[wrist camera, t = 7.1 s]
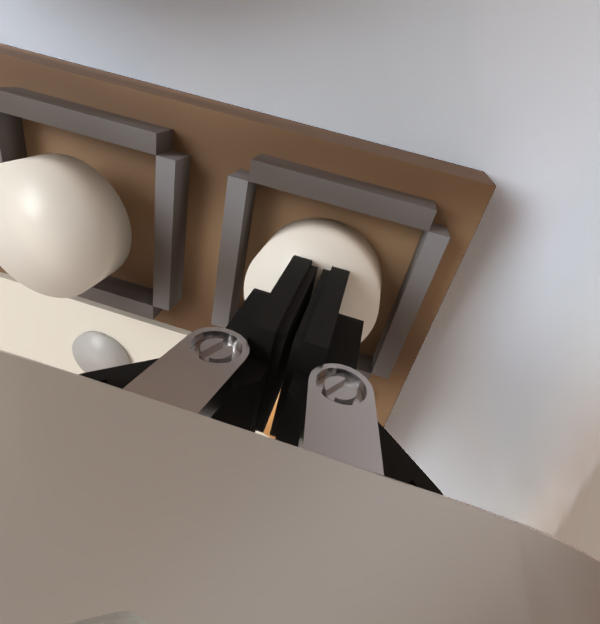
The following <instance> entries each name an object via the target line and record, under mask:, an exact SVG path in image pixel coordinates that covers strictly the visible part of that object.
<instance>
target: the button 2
mask: <svg viewBox="0 0 600 624" xmlns="http://www.w3.org/2000/svg"><path fill="white" fill-rule="evenodd" d="M294 255H296V256H300V257H303V258H306V259H310V260H312V265H313V266H316V267H318V270H317V274H316V278H315V282H314V285H313V289H312V293H311V297H312V295H313V292H314V290H315V288H316V285H317V283H318V281H319V278H320V276H321V273H322V271H323V269H326V270H331V268H332V266H334V267H337V268H341V269H344V270H347V271H350V274H349V277H348V281H347V285H346V288H345V292H344V295H343V299H342V303H341V306H340V310H339V314H342V315H346V316H349V317H352V318H356V319H359V320H362V321H364V325H363V331H362V337H361V342H362V341H363V340H364V339H365V338H366V337H367V336H368V334H369V333H370V331H371V330H372V328H373V326H374V324H375V322H376V319H377V316H378V311H379V304H380V294H381V284H382V272H381V266H380V263H379V260H378V257H377V255H376V253H375V251H374V249H373V248H372V246H371V245H370V243H369V242H368V241H367V240H366V239H365V237H364V236H362V235H361V234H360V233H359V232H358V231H356V230H355V229H353V228H352V227H350V226H348V225H346V224H344V223H342V222H339V221H337V220H333V219H329V218H321V217H311V218H304V219H299V220H296V221H293V222H291V223H289V224H287V225H285V226H284V227H282V228H281V229H279V230H278V231H277V232H276V233H275V234H274V235H273V236H272V237H271V238H270V240H269V241H268V242H267V243H266V244H265V246H264V247H263V248H262V249H261V251H260V252H259V253H258V254H257V255H256V257H255V258H254V259H253V261H252V262H251V264H250V266H249V268H248V270H247V273H246V276H245V281H244V299H245V300H246V299H247V297H248V296H249V294H250V293H251V292H252V290H253V289H254V288H256V289H259V290H263V291H266V292H269V293H270V292H271V291H272V289H273V288H274V286H275V284H276V283H277V281H278V280H279V278H280V276H281V275H282V273H283V272H284V270H285V268H286V267H287V265H288V264H289V262H290V261H291V259H292V257H293V256H294ZM311 297H310V299H311ZM309 302H310V301H309Z"/></svg>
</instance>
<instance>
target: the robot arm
mask: <svg viewBox="0 0 600 624" xmlns="http://www.w3.org/2000/svg"><path fill="white" fill-rule="evenodd" d="M317 270H318V267H316V266H313V265H312V260H310V259H306V258H303V257H300V256H296V255H294V256H293V257H292V259H291V261H290V262H289V264H288V265H287V267H286V268H285V270H284V272H283V273H282V275H281V276H280V278H279V280H278V281H277V283H276V284H275V286H274V288H273V289H272V291H271V292H270V293H269V292H266V291H263V290H259V289H256V288H254V289H253V290H252V292H251V293H250V294H249V296H248V297H247V299H246V300H245V301H244V303H243V304H242V306H241V307H240V308H239V310H238V311H237V312H236V314H235V315H234V317H233V318H232V319H231V321H230V322H229V324H228V325H227V326H226V328H221V327H204V328H201V329H197V330H195V331H193V332H191V333H190V334H188V335H187V336H186V337H185V338H183V339H182V340H181V341H180V342H179V343H177V344H176V345H175V346H174V347H173V348H171V349H170V350H169V351H168V352H166V353H165V354H164V355H163V356H162V357H160V358H157V359H152V360H147V361H142V362H137V363H132V364H127V365H121V366H116V367H111V368H106V369H101V370H96V371H91V372H86V373H81V374H75V373H72V372H69V371H66V370H63V369H60V368H57V367H53V366H50V365H47V364H44V363H41V362H38V361H35V360H32V359H29V358H26V357H23V356H20V355H16V354H13V353H10V352H6V351H3V350H0V624H600V560H599V559H597V558H595V557H593V556H591V555H590V554H588V553H586V552H584V551H582V550H580V549H579V548H577V547H575V546H573V545H571V544H569V543H567V542H565V541H562V540H560V539H558V538H556V537H553V536H551V535H549V534H547V533H544V532H542V531H540V530H538V529H535V528H532V527H530V526H527V525H524V524H522V523H519V522H516V521H513V520H511V519H508V518H505V517H503V516H500V515H497V514H494V513H492V512H489V511H486V510H484V509H481V508H478V507H475V506H473V505H470V504H467V503H464V502H461V501H458V500H455V499H452V498H449V497H446V496H444V495H443V494H442V493H441V491H440V490H439V489H438V488H437V487H436V485H435V484H434V483H433V482H432V481H431V480H430V479H429V478H428V477H427V475H426V474H425V473H424V472H423V471H422V470H421V469H420V468H419V467H418V465H417V464H416V463H415V462H414V461H413V460H412V459H411V458H410V456H409V455H408V454H407V453H406V452H405V451H404V450H403V449H402V448H401V446H400V445H399V444H398V443H397V442H396V441H395V440H394V439H393V438H392V436H391V435H390V434H389V433H388V432H387V431H386V430H385V429H384V427H383V426H382V425H381V424H380V423H379V422H378V421H377V413H376V405H375V396H374V391H373V388H372V385H371V384H370V382H369V381H368V379H367V378H366V377H365V376H363V375H362V374H361V373H360V372H358V371H356V368H357V362H358V356H359V349H360V343H361V337H362V331H363V325H364V321H362V320H359V319H356V318H352V317H349V316H346V315H342V314H339V310H340V306H341V303H342V299H343V295H344V292H345V288H346V285H347V281H348V277H349V274H350V271H347V270H344V269H341V268H337V267H334V266H332V268H331V270H326V269H323V271H322V273H321V276H320V278H319V281H318V283H317V285H316V288H315V290H314V292H313V295H312V297H311V293H312V289H313V285H314V282H315V278H316V274H317ZM310 297H311V299H310ZM309 301H310V302H309ZM280 390H281V391H280ZM279 392H280V395H279ZM278 395H279V399H278V403H277V406H276V410H275V414H274V418H273V422H272V426H271V430H270V435H271V436H274V437H276V438H275V439H272V438H269V437H266V436H263V435H260V434H257V433H255V431H259V432H262V433H263V432H264V430H265V427H266V425H267V422H268V420H269V417H270V415H271V412H272V410H273V407H274V405H275V402H276V400H277V397H278Z"/></svg>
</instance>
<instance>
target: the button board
mask: <svg viewBox="0 0 600 624" xmlns="http://www.w3.org/2000/svg"><path fill="white" fill-rule="evenodd" d="M47 153H61V154H65V155H69V156H72V157H75V158H77V159H79V160H81V161H83V162H85V163H87V164H88V165H90V166H91V167H93V168H94V169H95V170H96V171H98V172H99V173H100V174H101V175H102V176H103V177H104V178H105V179H106V180H107V181H108V182H109V183H110V185H111V186H112V187H113V188H114V190H115V191H116V193H117V194H118V195H119V197H120V199H121V201H122V203H123V205H124V207H125V209H126V211H127V214H128V217H129V221H130V226H131V234H132V241H131V248H130V252H129V255H128V257H127V259H126V261H125V262H124V264H123V265H122V266H121V267H120V268H119V269H118V270H116V271H115V272H113V273H112V274H110V275H109V276H107V277H106V278H105V279H103V280H102V281H100V282H99V283H97V284H96V285H94V286H93V287H91V288H90V289H88V290H87V291H85V292H84V293H82V294H80V295H77V296H78V297H81V298H85V299H88V300H91V301H94V302H97V303H101V304H104V305H107V306H110V307H113V308H117V309H120V310H123V311H126V312H129V313H133V314H136V315H139V316H142V317H145V318H149V319H152V320H156V321H159V322H162V323H166V324H169V325H172V326H175V327H178V328H182V329H185V330H188V331H191V332H193V331H195V330H197V329H201V328H204V327H221V328H226V326H227V325H228V324H229V322H230V321H231V319H232V318H233V317H234V315H235V314H236V312H237V311H238V310H239V308H240V307H241V306H242V304H243V303H244V301H245V299H244V281H245V276H246V273H247V270H248V268H249V266H250V264H251V262H252V261H253V259H254V258H255V257H256V255H257V254H258V253H259V252H260V251H261V249H262V248H263V247H264V246H265V244H266V243H267V242H268V241H269V240H270V238H271V237H272V236H273V235H274V234H275V233H276V232H277V231H278V230H279V229H281V228H282V227H284V226H285V225H287V224H289V223H291V222H293V221H296V220H299V219H304V218H311V217H321V218H329V219H333V220H337V221H339V222H342V223H344V224H346V225H348V226H350V227H352V228H353V229H355V230H356V231H358V232H359V233H360V234H361V235H362V236H364V237H365V239H366V240H367V241H368V242H369V243H370V245H371V246H372V248H373V249H374V251H375V253H376V255H377V257H378V260H379V263H380V266H381V272H382V284H381V294H380V304H379V311H378V316H377V319H376V322H375V324H374V326H373V328H372V330H371V331H370V333H369V334H368V336H367V337H366V338H365V339H364V340H363V341H362V342H361V343H360V349H359V356H358V362H357V368H356V371H358V372H360V373H361V374H362V375H363V376H365V377H366V378H367V379H368V381H369V382H370V384H371V385H372V388H373V391H374V396H375V405H376V413H377V421H378V422H379V423H380V424H381V425H382V426H383V427H384V425H385V423H386V421H387V418H388V416H389V414H390V412H391V410H392V408H393V406H394V404H395V401H396V399H397V397H398V395H399V393H400V391H401V389H402V386H403V384H404V382H405V380H406V378H407V376H408V374H409V371H410V369H411V367H412V365H413V363H414V361H415V359H416V357H417V354H418V352H419V350H420V348H421V346H422V344H423V342H424V339H425V337H426V335H427V333H428V331H429V329H430V327H431V324H432V322H433V320H434V318H435V316H436V314H437V312H438V310H439V307H440V305H441V303H442V301H443V299H444V297H445V295H446V292H447V290H448V288H449V286H450V284H451V282H452V280H453V277H454V275H455V273H456V271H457V269H458V267H459V265H460V263H461V260H462V258H463V256H464V254H465V252H466V250H467V248H468V245H469V243H470V241H471V239H472V237H473V235H474V233H475V230H476V228H477V226H478V224H479V222H480V220H481V218H482V216H483V213H484V211H485V209H486V207H487V205H488V203H489V201H490V198H491V196H492V194H493V192H494V190H495V188H496V185H495V184H494V183H493V182H492V181H491V179H490V178H489V177H488V176H487V175H486V174H485V172H483V171H479V170H475V169H472V168H468V167H464V166H460V165H457V164H453V163H449V162H445V161H441V160H438V159H434V158H430V157H426V156H423V155H419V154H415V153H411V152H408V151H404V150H400V149H396V148H392V147H389V146H385V145H381V144H377V143H374V142H370V141H366V140H362V139H359V138H355V137H351V136H347V135H343V134H340V133H336V132H332V131H328V130H325V129H321V128H317V127H313V126H310V125H306V124H302V123H298V122H294V121H291V120H287V119H283V118H279V117H276V116H272V115H268V114H264V113H261V112H257V111H253V110H249V109H245V108H242V107H238V106H234V105H230V104H227V103H223V102H219V101H215V100H212V99H208V98H204V97H200V96H196V95H193V94H189V93H185V92H181V91H178V90H174V89H170V88H166V87H163V86H159V85H155V84H151V83H147V82H144V81H140V80H136V79H132V78H129V77H125V76H121V75H117V74H114V73H110V72H106V71H102V70H98V69H95V68H91V67H87V66H83V65H80V64H76V63H72V62H68V61H65V60H61V59H57V58H53V57H49V56H46V55H42V54H38V53H34V52H31V51H27V50H23V49H19V48H16V47H12V46H8V45H4V44H0V163H3V162H8V161H13V160H17V159H22V158H27V157H32V156H36V155H41V154H47ZM0 272H2V273H6V274H8V273H7V272H6V271H5V270H4V269H3V268H2V267H1V266H0Z"/></svg>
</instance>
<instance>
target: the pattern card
mask: <svg viewBox="0 0 600 624" xmlns="http://www.w3.org/2000/svg"><path fill="white" fill-rule="evenodd" d="M190 333H191V331H188V330H185V329H182V328H178V327H175V326H172V325H169V324H166V323H162V322H159V321H156V320H152V319H149V318H145V317H142V316H139V315H136V314H133V313H129V312H126V311H123V310H120V309H117V308H113V307H110V306H107V305H104V304H101V303H97V302H94V301H91V300H88V299H85V298H81V297H78V296H74V297H69V298H56V297H50V296H46V295H43V294H40V293H37V292H35V291H33V290H31V289H29V288H27V287H26V286H24V285H22V284H21V283H19V282H18V281H17V280H15V279H14V278H13V277H12V276H10V275H9V274H6V273H2V272H0V350H3V351H6V352H10V353H13V354H16V355H20V356H23V357H26V358H29V359H32V360H35V361H38V362H41V363H44V364H47V365H50V366H53V367H57V368H60V369H63V370H66V371H69V372H72V373H75V374H81V373H86V372H91V371H96V370H101V369H106V368H111V367H116V366H121V365H127V364H132V363H137V362H142V361H147V360H152V359H157V358H160V357H162V356H163V355H164V354H165V353H166V352H168V351H169V350H170V349H171V348H173V347H174V346H175V345H176V344H177V343H179V342H180V341H181V340H182V339H183V338H185V337H186V336H187V335H188V334H190ZM280 391H281V390H280ZM279 395H280V392H279ZM279 395H278V397H277V400H276V402H275V405H274V407H273V410H272V412H271V415H270V417H269V420H268V422H267V425H266V427H265V430H264V432H263V433H262V432H259V431H255V433H257V434H260V435H263V436H266V437H269V438H272V439H275V438H276V437H274V436H271V435H270V430H271V426H272V422H273V418H274V414H275V410H276V406H277V403H278V399H279Z"/></svg>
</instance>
